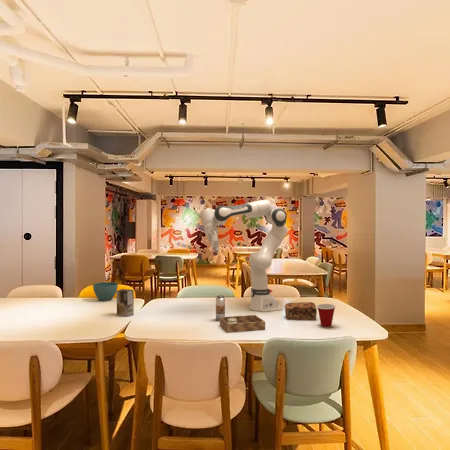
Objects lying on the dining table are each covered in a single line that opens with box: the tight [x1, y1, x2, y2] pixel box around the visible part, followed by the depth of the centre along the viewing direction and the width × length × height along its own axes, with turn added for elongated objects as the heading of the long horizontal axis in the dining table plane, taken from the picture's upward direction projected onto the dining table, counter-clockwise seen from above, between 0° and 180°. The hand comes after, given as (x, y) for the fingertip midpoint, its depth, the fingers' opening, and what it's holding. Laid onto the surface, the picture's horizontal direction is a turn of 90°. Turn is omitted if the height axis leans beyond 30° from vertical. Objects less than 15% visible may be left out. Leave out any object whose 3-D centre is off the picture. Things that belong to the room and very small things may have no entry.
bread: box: [284, 301, 318, 321], centre depth 237 cm, size 19×11×10 cm, turn 86°
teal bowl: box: [92, 281, 119, 302], centre depth 289 cm, size 18×18×12 cm
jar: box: [228, 318, 237, 324], centre depth 213 cm, size 5×5×6 cm
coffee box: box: [116, 288, 135, 317], centre depth 243 cm, size 9×6×16 cm
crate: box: [219, 314, 266, 333], centre depth 217 cm, size 22×16×4 cm
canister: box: [215, 295, 226, 322], centre depth 232 cm, size 6×6×15 cm
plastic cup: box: [316, 303, 336, 328], centre depth 220 cm, size 11×11×12 cm
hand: (217, 251), depth 250 cm, fingers open, 8 cm apart
